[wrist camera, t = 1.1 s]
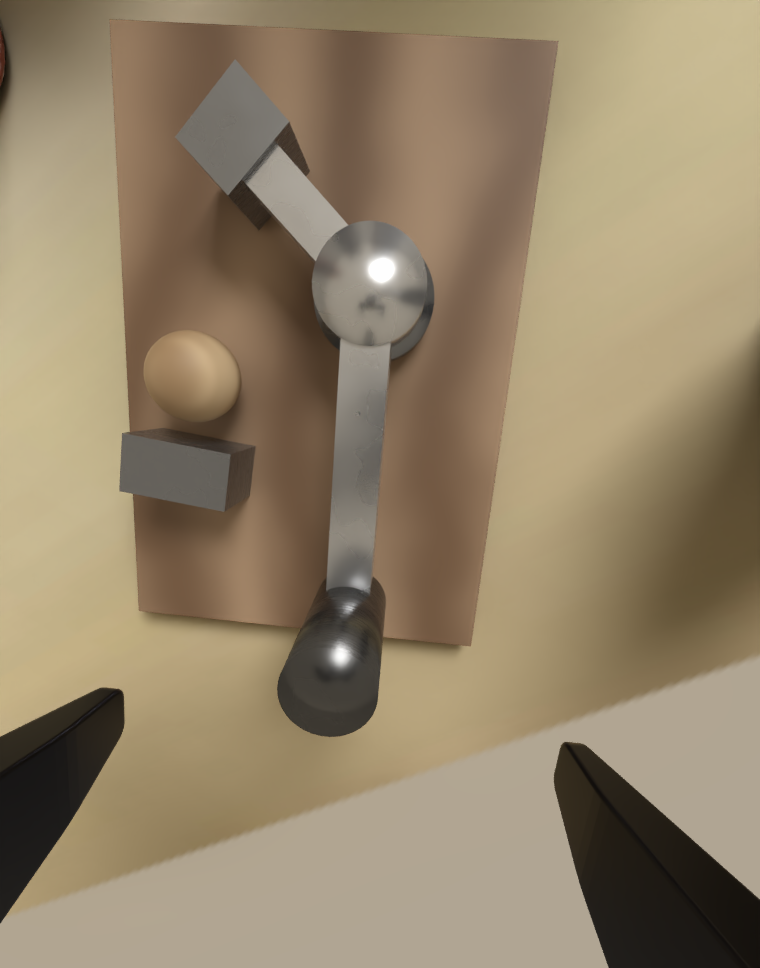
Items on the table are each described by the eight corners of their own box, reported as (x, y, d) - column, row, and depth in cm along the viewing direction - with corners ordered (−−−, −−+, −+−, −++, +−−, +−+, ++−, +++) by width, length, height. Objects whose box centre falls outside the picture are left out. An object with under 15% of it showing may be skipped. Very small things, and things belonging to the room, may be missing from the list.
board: (547, 66, 16) (558, 40, 15) (467, 632, 22) (470, 646, 20) (130, 45, 17) (109, 19, 16) (152, 599, 22) (139, 610, 21)
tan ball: (255, 340, 18) (218, 326, 14) (253, 422, 19) (218, 429, 15) (174, 333, 18) (119, 318, 14) (176, 416, 19) (124, 421, 15)
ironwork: (381, 215, 17) (377, 178, 14) (457, 313, 17) (467, 297, 14) (136, 453, 19) (92, 462, 16) (209, 530, 20) (178, 552, 17)
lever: (215, 118, 16) (73, -91, 9) (440, 131, 16) (468, -77, 9) (217, 606, 20) (123, 712, 14) (392, 624, 20) (385, 743, 13)
